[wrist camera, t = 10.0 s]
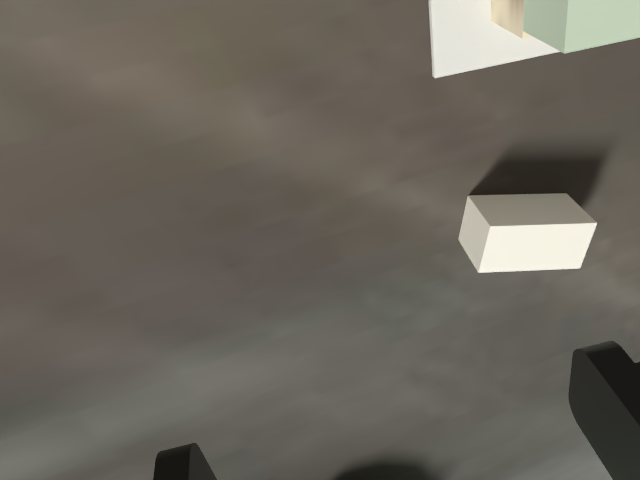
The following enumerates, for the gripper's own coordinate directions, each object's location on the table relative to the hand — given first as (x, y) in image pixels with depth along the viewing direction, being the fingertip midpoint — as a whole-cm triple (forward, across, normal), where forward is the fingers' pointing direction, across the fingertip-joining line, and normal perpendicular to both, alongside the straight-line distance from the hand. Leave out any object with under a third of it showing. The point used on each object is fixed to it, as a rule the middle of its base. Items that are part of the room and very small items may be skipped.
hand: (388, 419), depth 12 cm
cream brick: (+23, -13, +13) cm, 29 cm away
